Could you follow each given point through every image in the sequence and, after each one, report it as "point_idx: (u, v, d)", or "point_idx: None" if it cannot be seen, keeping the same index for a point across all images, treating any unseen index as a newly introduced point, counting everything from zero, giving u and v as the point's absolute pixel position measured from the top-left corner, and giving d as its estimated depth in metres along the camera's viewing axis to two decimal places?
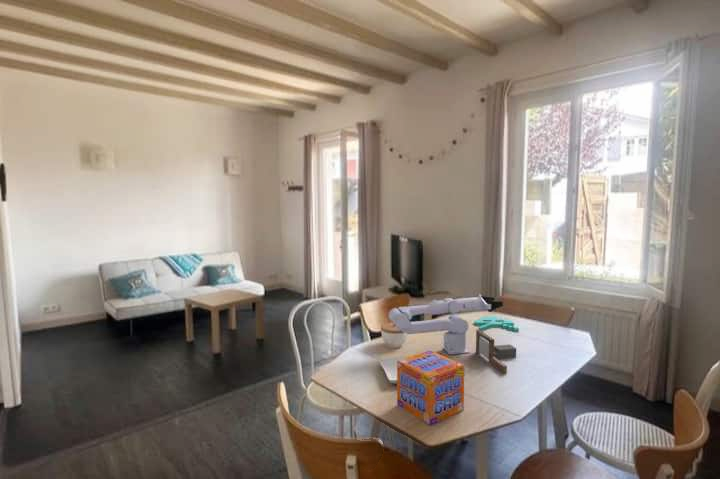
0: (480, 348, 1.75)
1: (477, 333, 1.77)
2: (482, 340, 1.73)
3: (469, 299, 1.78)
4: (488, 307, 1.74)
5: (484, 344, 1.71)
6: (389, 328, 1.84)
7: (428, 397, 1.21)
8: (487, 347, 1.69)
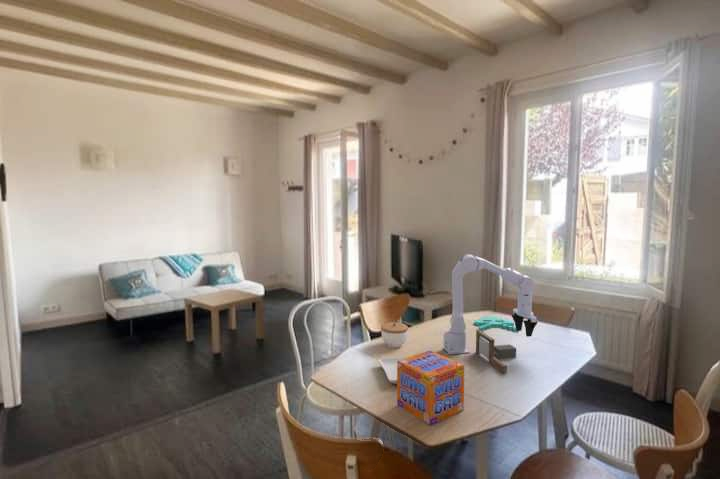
0: (480, 348, 1.75)
1: (477, 333, 1.77)
2: (482, 340, 1.73)
3: (531, 302, 1.72)
4: (534, 319, 1.67)
5: (484, 344, 1.71)
6: (389, 328, 1.84)
7: (428, 397, 1.21)
8: (487, 347, 1.69)
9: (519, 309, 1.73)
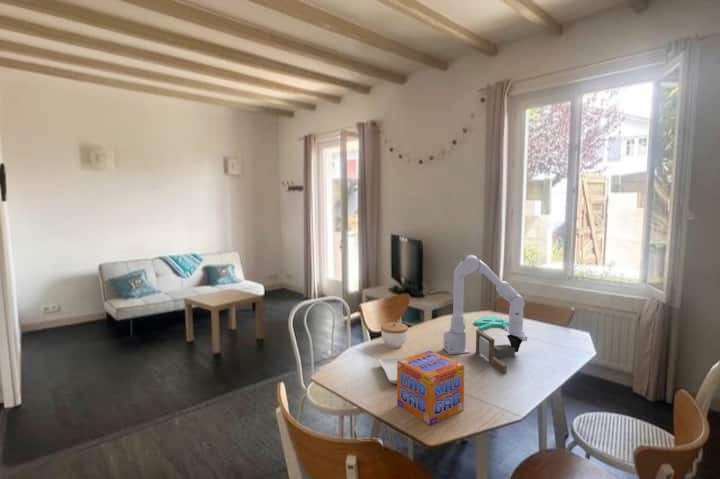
0: (480, 348, 1.75)
1: (477, 333, 1.77)
2: (482, 340, 1.73)
3: (522, 320, 1.72)
4: (525, 338, 1.67)
5: (484, 344, 1.71)
6: (389, 328, 1.84)
7: (428, 397, 1.21)
8: (487, 347, 1.69)
9: (510, 328, 1.73)
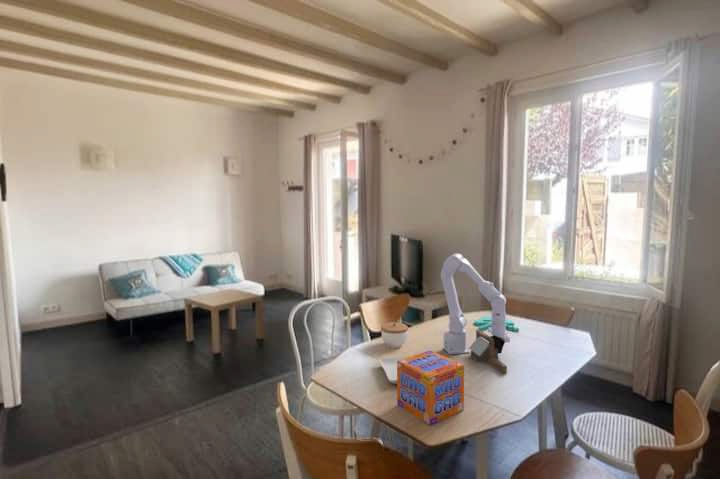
0: (473, 346, 1.75)
1: (477, 333, 1.77)
2: (481, 339, 1.73)
3: (504, 321, 1.70)
4: (507, 339, 1.66)
5: (482, 342, 1.71)
6: (389, 328, 1.84)
7: (428, 397, 1.21)
8: (484, 345, 1.69)
9: (493, 329, 1.71)
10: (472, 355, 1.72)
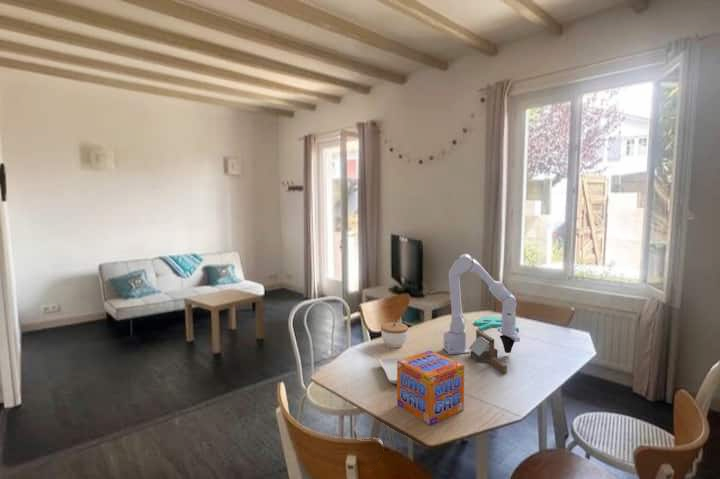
0: (473, 345, 1.75)
1: (477, 333, 1.77)
2: (481, 339, 1.73)
3: (514, 321, 1.71)
4: (517, 339, 1.67)
5: (482, 342, 1.71)
6: (389, 328, 1.84)
7: (428, 397, 1.21)
8: (484, 345, 1.69)
9: (503, 328, 1.72)
10: (471, 355, 1.72)
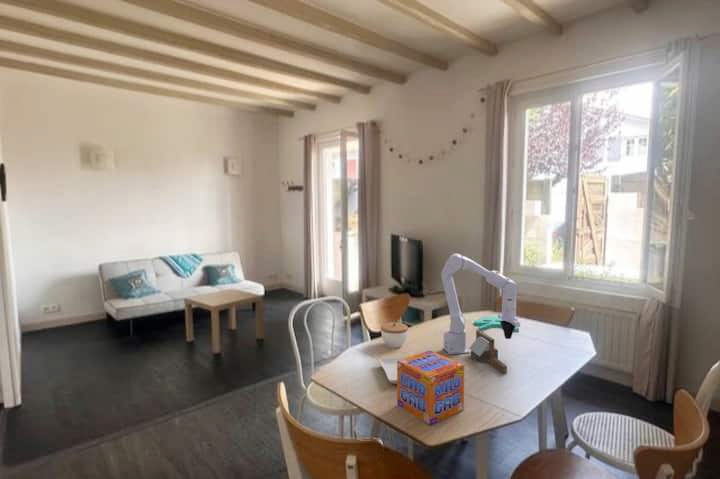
0: (473, 346, 1.75)
1: (477, 333, 1.77)
2: (481, 339, 1.73)
3: (515, 306, 1.71)
4: (517, 324, 1.66)
5: (482, 342, 1.71)
6: (389, 328, 1.84)
7: (428, 397, 1.21)
8: (484, 345, 1.69)
9: (503, 314, 1.72)
10: (472, 355, 1.72)
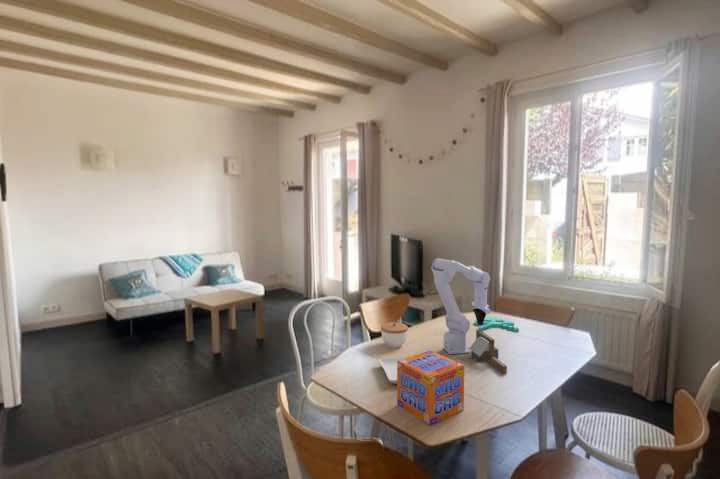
0: (473, 346, 1.75)
1: (477, 333, 1.77)
2: (481, 339, 1.73)
3: None
4: (487, 310, 1.81)
5: (482, 342, 1.71)
6: (389, 328, 1.84)
7: (428, 397, 1.21)
8: (484, 345, 1.69)
9: (475, 302, 1.86)
10: (472, 355, 1.72)
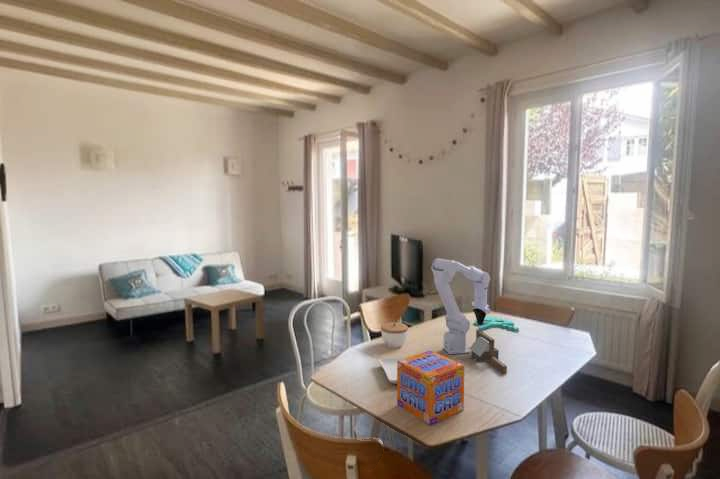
0: (473, 346, 1.75)
1: (477, 333, 1.77)
2: (481, 339, 1.73)
3: None
4: (487, 310, 1.81)
5: (482, 343, 1.71)
6: (389, 328, 1.84)
7: (428, 397, 1.21)
8: (484, 345, 1.69)
9: (475, 302, 1.86)
10: (472, 355, 1.72)
